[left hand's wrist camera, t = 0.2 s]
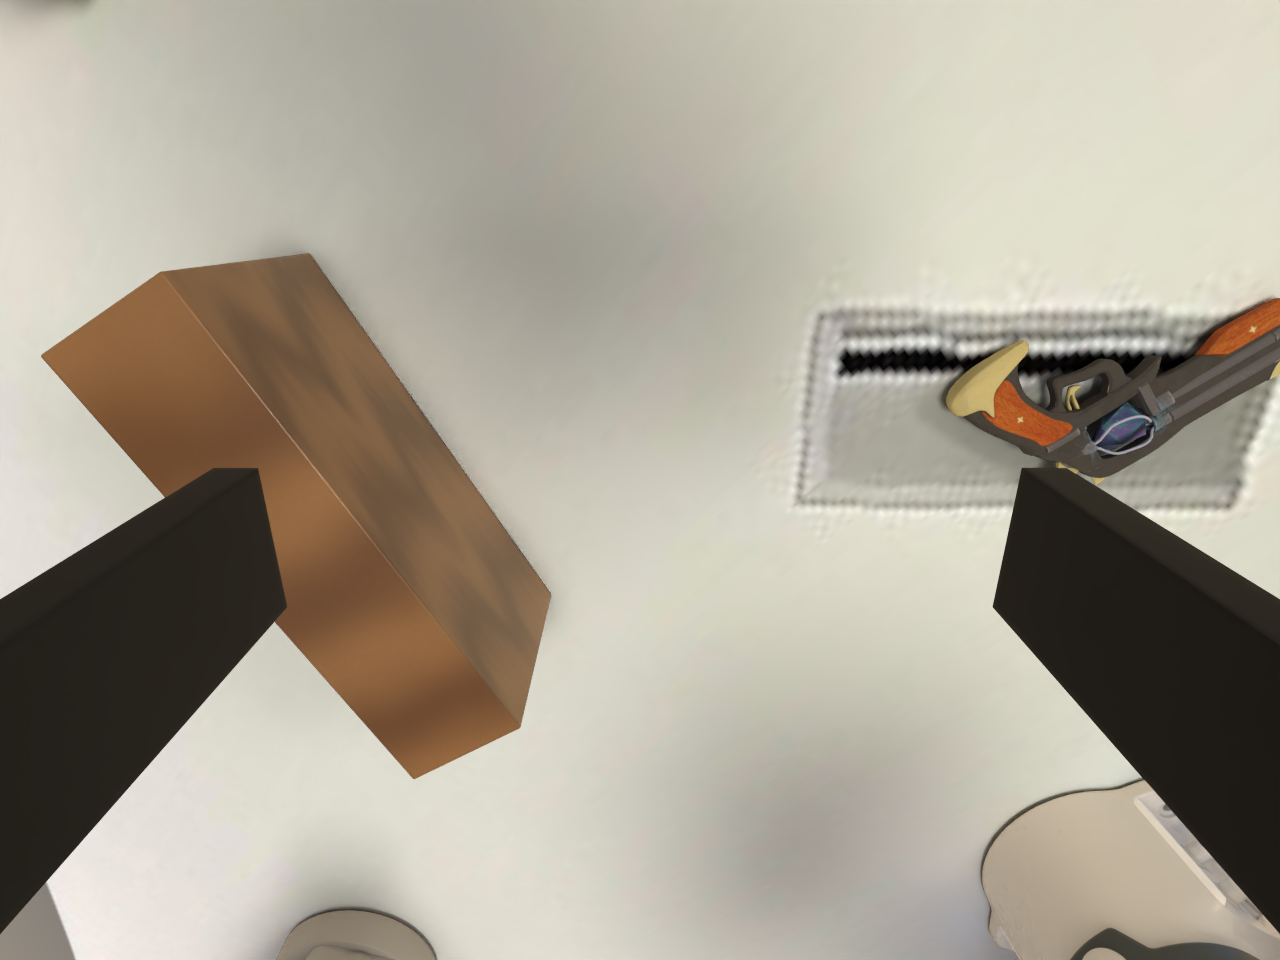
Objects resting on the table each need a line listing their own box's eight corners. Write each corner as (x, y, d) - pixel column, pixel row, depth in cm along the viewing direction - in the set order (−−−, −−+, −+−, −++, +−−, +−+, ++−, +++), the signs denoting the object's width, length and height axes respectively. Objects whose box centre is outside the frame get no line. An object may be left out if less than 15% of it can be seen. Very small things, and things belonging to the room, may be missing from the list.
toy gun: (949, 392, 39) (1029, 538, 41) (1279, 191, 36) (1348, 356, 38) (929, 387, 41) (1005, 525, 43) (1235, 200, 39) (1303, 354, 41)
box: (220, 312, 40) (38, 355, 28) (309, 252, 39) (160, 270, 27) (470, 636, 47) (413, 780, 35) (551, 594, 46) (521, 728, 34)
